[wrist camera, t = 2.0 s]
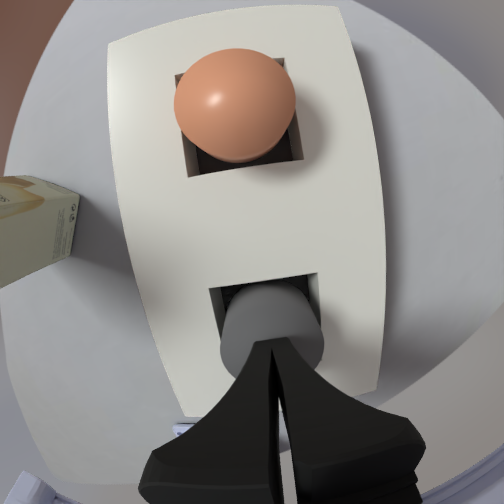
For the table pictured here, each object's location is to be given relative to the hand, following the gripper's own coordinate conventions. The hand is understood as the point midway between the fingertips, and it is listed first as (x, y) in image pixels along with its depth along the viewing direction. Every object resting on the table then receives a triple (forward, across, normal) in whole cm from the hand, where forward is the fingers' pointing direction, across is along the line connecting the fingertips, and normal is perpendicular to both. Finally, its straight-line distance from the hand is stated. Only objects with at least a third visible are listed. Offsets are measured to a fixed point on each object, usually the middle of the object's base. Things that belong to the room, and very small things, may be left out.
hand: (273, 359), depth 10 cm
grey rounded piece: (+4, 0, 0) cm, 4 cm away
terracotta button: (+4, 0, -10) cm, 11 cm away
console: (+6, 0, -5) cm, 8 cm away
